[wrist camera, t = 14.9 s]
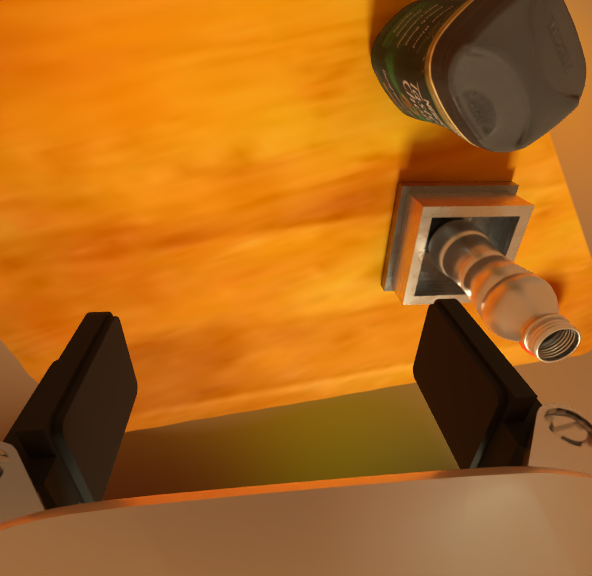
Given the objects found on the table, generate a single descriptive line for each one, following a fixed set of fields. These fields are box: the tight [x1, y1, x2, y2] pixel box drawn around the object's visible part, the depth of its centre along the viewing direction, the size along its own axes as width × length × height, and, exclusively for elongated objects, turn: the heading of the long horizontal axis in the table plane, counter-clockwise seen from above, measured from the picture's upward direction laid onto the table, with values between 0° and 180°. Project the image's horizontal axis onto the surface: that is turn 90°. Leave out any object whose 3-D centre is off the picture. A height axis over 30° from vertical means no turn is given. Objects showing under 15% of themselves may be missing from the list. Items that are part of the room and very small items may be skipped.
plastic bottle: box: [429, 220, 581, 363], centre depth 39 cm, size 6×7×20 cm
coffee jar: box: [371, 0, 586, 152], centre depth 30 cm, size 10×8×19 cm
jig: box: [381, 182, 534, 305], centre depth 46 cm, size 14×14×6 cm
